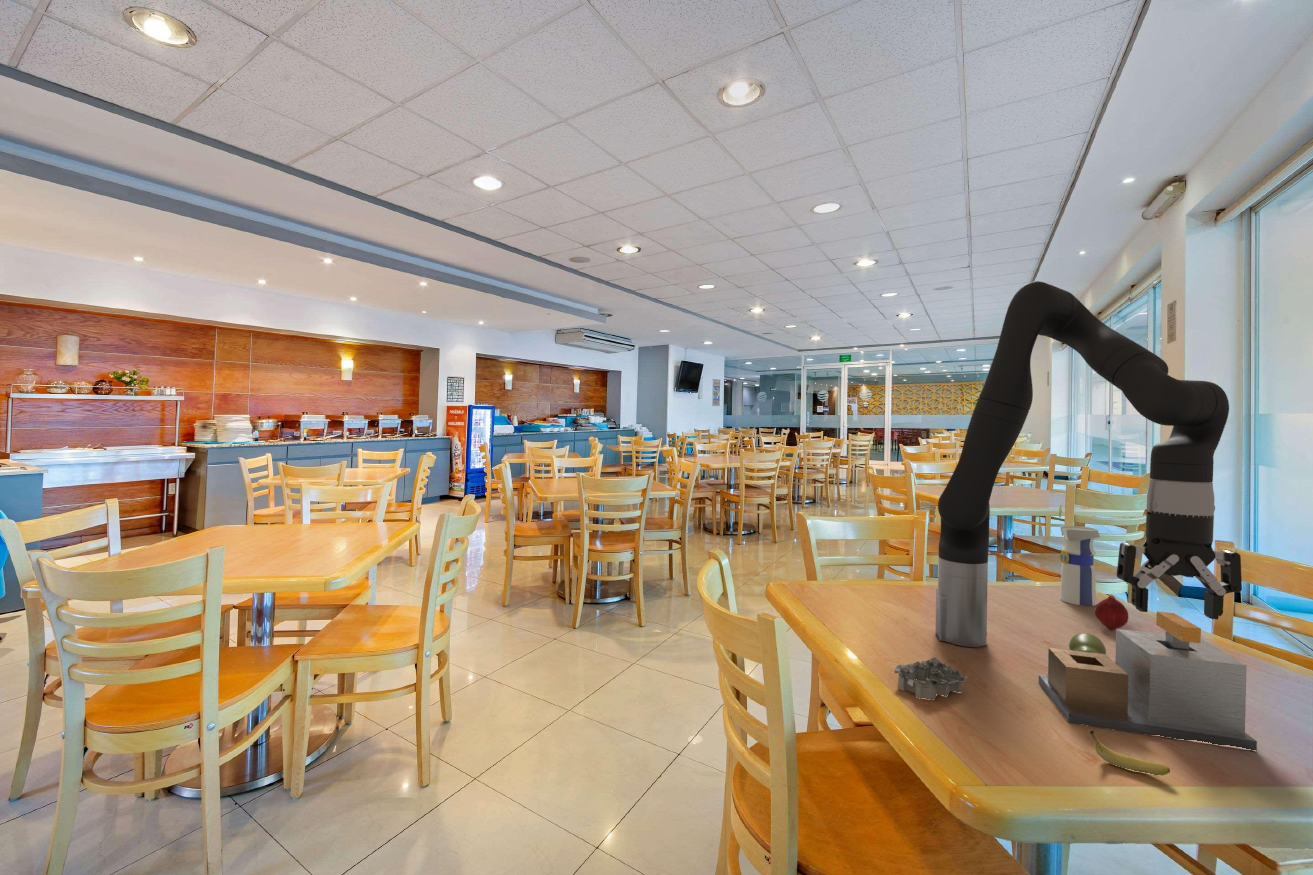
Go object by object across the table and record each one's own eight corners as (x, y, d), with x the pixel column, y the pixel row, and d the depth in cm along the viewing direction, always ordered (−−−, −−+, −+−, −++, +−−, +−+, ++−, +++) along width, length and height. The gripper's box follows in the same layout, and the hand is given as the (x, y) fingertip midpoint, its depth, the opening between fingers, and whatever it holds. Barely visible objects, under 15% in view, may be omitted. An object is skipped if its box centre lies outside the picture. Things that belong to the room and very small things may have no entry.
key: (1199, 683, 81) (1200, 628, 80) (1180, 680, 81) (1182, 626, 81) (1172, 663, 87) (1173, 612, 87) (1155, 661, 88) (1156, 611, 88)
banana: (1087, 760, 74) (1088, 731, 74) (1088, 754, 75) (1088, 726, 75) (1170, 786, 69) (1171, 755, 69) (1169, 779, 70) (1169, 749, 70)
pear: (1105, 632, 106) (1107, 657, 98) (1104, 657, 107) (1106, 684, 99) (1069, 625, 109) (1069, 649, 102) (1069, 649, 110) (1068, 675, 102)
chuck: (1068, 722, 83) (1070, 648, 83) (1038, 682, 97) (1039, 618, 96) (1256, 751, 76) (1258, 670, 76) (1196, 704, 89) (1197, 634, 89)
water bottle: (1069, 605, 139) (1071, 508, 139) (1051, 595, 148) (1053, 503, 147) (1105, 607, 138) (1107, 509, 138) (1085, 597, 147) (1087, 504, 146)
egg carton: (924, 705, 89) (924, 680, 89) (889, 684, 96) (889, 661, 96) (971, 694, 93) (972, 670, 93) (935, 675, 100) (935, 653, 100)
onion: (1135, 635, 120) (1136, 598, 119) (1108, 634, 120) (1109, 598, 120) (1113, 625, 125) (1114, 590, 125) (1088, 625, 126) (1088, 590, 125)
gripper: (1223, 509, 85) (1219, 612, 85) (1111, 503, 90) (1108, 601, 90) (1256, 516, 78) (1252, 629, 78) (1133, 509, 83) (1130, 615, 83)
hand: (1175, 613), depth 84 cm, fingers open, 8 cm apart
